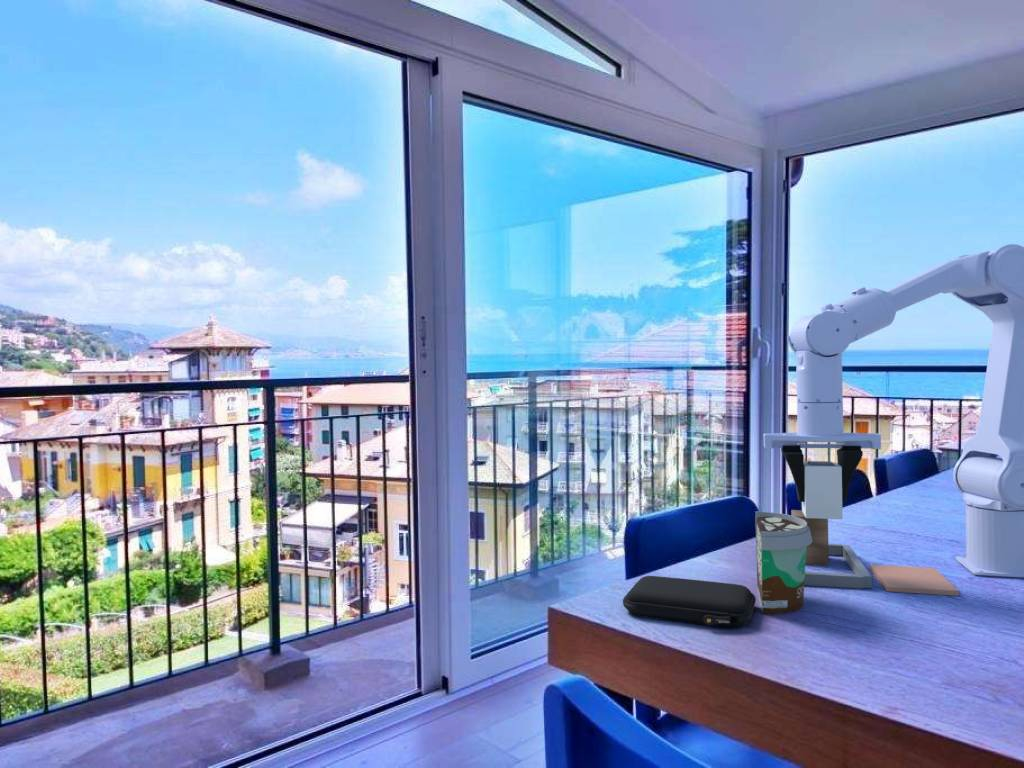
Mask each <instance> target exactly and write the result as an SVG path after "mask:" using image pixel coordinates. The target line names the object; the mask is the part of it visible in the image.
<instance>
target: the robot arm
mask: <svg viewBox="0 0 1024 768" xmlns="http://www.w3.org/2000/svg"><path fill="white" fill-rule="evenodd" d="M941 293H942V294H950V293H951V294H952V296H955V297H956V298H957V299H958V300H961V301H963V302H965V303H966V304H967V305H968V304H969V305H970V306H971V307H973V308H975V309H977V310H979V311H981V312H982V313H983V314H985V316H986V317H988V319H989V320H990V321H991V322H992V331H991V336H990V337H991V339H990V344H989V351H988V359H987V363H986V364H987V365H986V371H985V372H986V373H985V378H984V380H985V381H984V384H983V385H984V387H983V391H982V400H981V408H980V414H979V422H978V426H977V427H978V428H977V432H976V433H975V434H974V435H973V436H972V437H970V439H968V440H967V441H966V442H965V443H964V444H963V448H962V452H961V456H960V457H959V459H958V460H957V462H956V464H955V466H954V467H953V471H952V479H953V483H954V485H955V487H956V489H957V490H958V491H959V492H960V493H962V501H964V502H965V544H966V545H965V549H966V550H965V552H966V553H965V554H966V556H962V555H961V556H960V555H959V556H957V555H956V556H955V560H956V561H958V562H959V563H960V564H961V565H962V566H964V567H965V568H966V569H967V570H968V571H970V572H971V573H972V574H973V575H975V576H990V577H994V576H995V577H1007V578H1009V577H1011V578H1024V246H1022V245H1020V244H1014V243H1012V244H1005V245H1002V246H999V247H997V248H993V249H989V250H985V251H982V252H977V253H972V254H964V255H960V256H958V257H956V258H954V259H949V260H946V261H942V262H939V263H937V264H934V265H932V266H930V267H928V268H927V269H925V270H922V271H921V272H919V273H917V274H915V275H913V276H911V277H910V278H907V279H906V280H904V281H902V282H899V283H897V284H895V285H894V286H891V287H890V288H888V289H886V290H882V289H879V288H877V287H869V288H867V289H866V287H865V286H861V287H858V288H856V289H854V290H852V291H851V295H852V296H849V297H847V298H845V299H843V300H841V301H838V302H837V303H833V304H832V303H828V304H824V305H822V306H821V307H820V309H821V311H820V313H817V314H810V315H804V316H803V317H801V318H799V319H797V320H796V322H794V325H792V327H791V330H790V333H789V335H788V336H787V337H786V338H787V339H786V340H787V343H788V345H789V347H790V349H791V350H792V351H793V353H794V355H795V358H796V359H795V360H796V361H795V363H796V370H795V371H796V372H795V373H796V374H795V375H796V411H797V412H796V413H797V414H796V415H797V420H796V423H797V432H778V433H777V432H776V433H775V432H774V433H763V434H762V435H763V448H764V449H768V450H769V449H780V448H781V450H780V451H781V452H782V455H783V457H784V458H785V461H786V463H787V465H788V468H789V470H790V472H791V475H792V478H793V481H794V485H795V489H796V494H797V500H798V502H800V503H802V502H805V491H804V481H803V464H804V462H805V460H804V458H805V456H804V455H805V454H803V449H837V450H836V458H837V459H836V460H837V463H838V464H839V465H840V466H841V467H842V504H846V503H847V497H848V493H849V490H850V489H849V488H850V485H851V482H852V479H853V477H854V473H855V471H856V470H857V468H858V465H859V464H860V462H861V460H862V459H863V457H864V453H863V450H862V449H870V450H881V449H882V435H881V433H880V434H879V433H878V432H877V433H876V432H875V433H871V432H870V433H865V432H863V433H862V432H844V402H843V400H844V397H843V396H844V395H843V393H844V391H843V388H844V387H843V353H844V352H845V351H846V350H847V349H848V347H849V345H850V344H853V343H855V342H856V341H859V340H861V339H863V338H866V337H867V336H869V335H871V334H874V333H876V332H878V331H880V330H883V329H884V328H886V327H889V326H891V325H892V323H894V320H895V317H896V314H897V312H899V311H901V310H903V309H905V308H908V307H910V306H913V305H915V304H917V303H920V302H923V301H925V300H928V299H929V298H931V297H934V296H936V295H939V294H941ZM999 456H1000V457H1001V458H1000V457H999Z"/></svg>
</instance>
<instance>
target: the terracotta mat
mask: <svg viewBox="0 0 1024 768" xmlns="http://www.w3.org/2000/svg"><path fill="white" fill-rule="evenodd" d="M869 569H870V571H871V572H872V573H873V575H874V576H875V578H876V579H877V580H878V582H879V583H880V584H881V586H882V587H883V588H884V589H885V591H886V592H895V593H908V594H909V593H910V594H924V595H925V594H926V595H927V594H928V595H941V596H957V597H959V596H960V595H959V594H960V592H959V590H958V589H957V588H956V587H955V586H954V585H953V584H952V583H951V582H950V581H949V580H948V579H947V578H946V577H945V576H943V574H942V573H940V572H939V570H937V569H936V568H935V567H921V566H903V565H885V564H869Z"/></svg>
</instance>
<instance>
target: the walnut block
mask: <svg viewBox="0 0 1024 768" xmlns="http://www.w3.org/2000/svg"><path fill="white" fill-rule="evenodd" d="M791 516H795V517H798V518H801V519H803V520H805V521H806V522H807V526H808V527H809V528H810V533H811V537H812V543H811V544H810V545H808V546H807V547H806V564H805V565H813V566H829V565H830V562H829V561H830V560H829V559H830V555H829V550H828V543H829V519H817V518H806V517H805V516H804V514H803V512H802V509H801V510H799V509H798V510H797V509H791Z"/></svg>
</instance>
